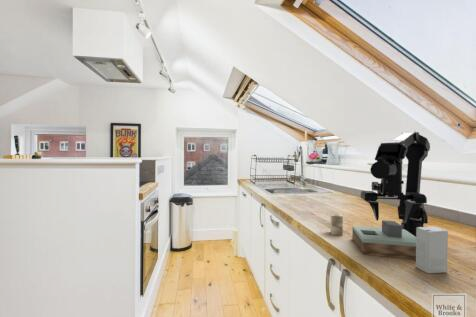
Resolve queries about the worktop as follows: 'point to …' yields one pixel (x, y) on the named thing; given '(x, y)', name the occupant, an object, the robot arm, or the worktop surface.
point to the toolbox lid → (386, 234)
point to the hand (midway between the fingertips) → (391, 221)
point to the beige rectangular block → (337, 224)
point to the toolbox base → (384, 248)
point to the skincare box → (431, 249)
